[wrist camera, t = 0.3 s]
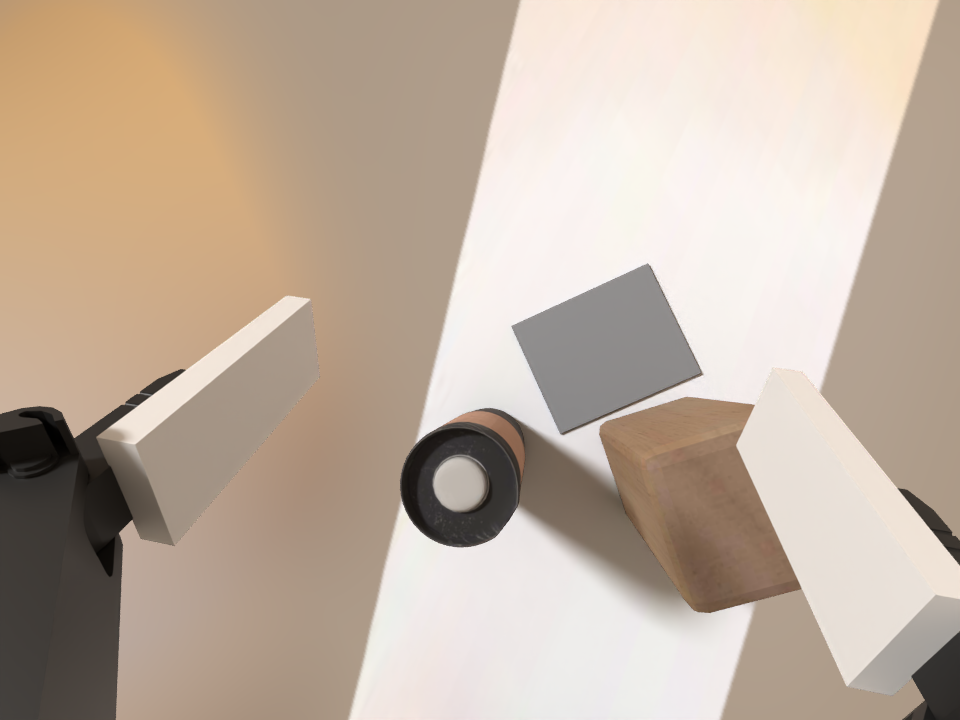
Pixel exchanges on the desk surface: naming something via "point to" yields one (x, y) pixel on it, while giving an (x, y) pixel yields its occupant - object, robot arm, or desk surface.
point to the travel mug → (465, 478)
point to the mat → (605, 349)
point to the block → (698, 501)
